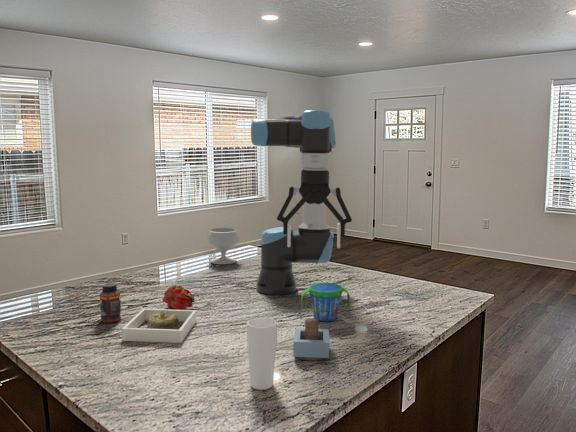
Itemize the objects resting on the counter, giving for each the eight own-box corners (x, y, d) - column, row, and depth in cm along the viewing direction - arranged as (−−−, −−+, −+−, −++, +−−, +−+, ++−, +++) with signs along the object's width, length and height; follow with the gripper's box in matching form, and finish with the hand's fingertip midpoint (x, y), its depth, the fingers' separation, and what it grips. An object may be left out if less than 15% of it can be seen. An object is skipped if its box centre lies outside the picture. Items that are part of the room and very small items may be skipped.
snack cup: (300, 323, 150) (301, 291, 148) (300, 311, 160) (300, 281, 159) (351, 324, 150) (352, 292, 148) (348, 312, 160) (348, 282, 159)
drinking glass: (246, 378, 114) (246, 317, 112) (275, 377, 115) (276, 316, 113) (246, 393, 108) (246, 328, 106) (277, 392, 108) (278, 327, 106)
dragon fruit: (165, 309, 166) (193, 320, 161) (151, 301, 159) (180, 312, 153) (177, 286, 169) (204, 297, 163) (164, 277, 162) (193, 288, 156)
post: (295, 345, 133) (295, 314, 132) (328, 347, 133) (328, 315, 131) (293, 360, 124) (293, 326, 123) (328, 361, 124) (329, 327, 122)
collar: (295, 342, 133) (295, 328, 132) (328, 343, 133) (328, 329, 132) (293, 356, 124) (293, 341, 124) (328, 358, 124) (329, 343, 123)
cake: (175, 336, 141) (174, 319, 140) (141, 336, 141) (139, 319, 140) (183, 321, 150) (182, 305, 149) (151, 321, 151) (150, 305, 150)
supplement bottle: (125, 318, 153) (124, 282, 151) (113, 324, 147) (111, 288, 146) (109, 315, 155) (108, 281, 153) (96, 322, 149) (95, 286, 148)
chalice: (203, 264, 220) (203, 232, 218) (213, 257, 234) (213, 226, 232) (234, 266, 218) (233, 233, 216) (242, 259, 232) (241, 228, 229)
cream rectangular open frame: (143, 319, 152) (143, 308, 151) (196, 321, 151) (196, 310, 150) (122, 340, 135) (121, 328, 135) (181, 342, 134) (181, 330, 134)
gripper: (267, 169, 128) (267, 248, 131) (363, 170, 127) (360, 250, 130) (270, 167, 136) (269, 242, 139) (360, 169, 134) (358, 244, 137)
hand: (313, 246), depth 134 cm, fingers open, 13 cm apart
